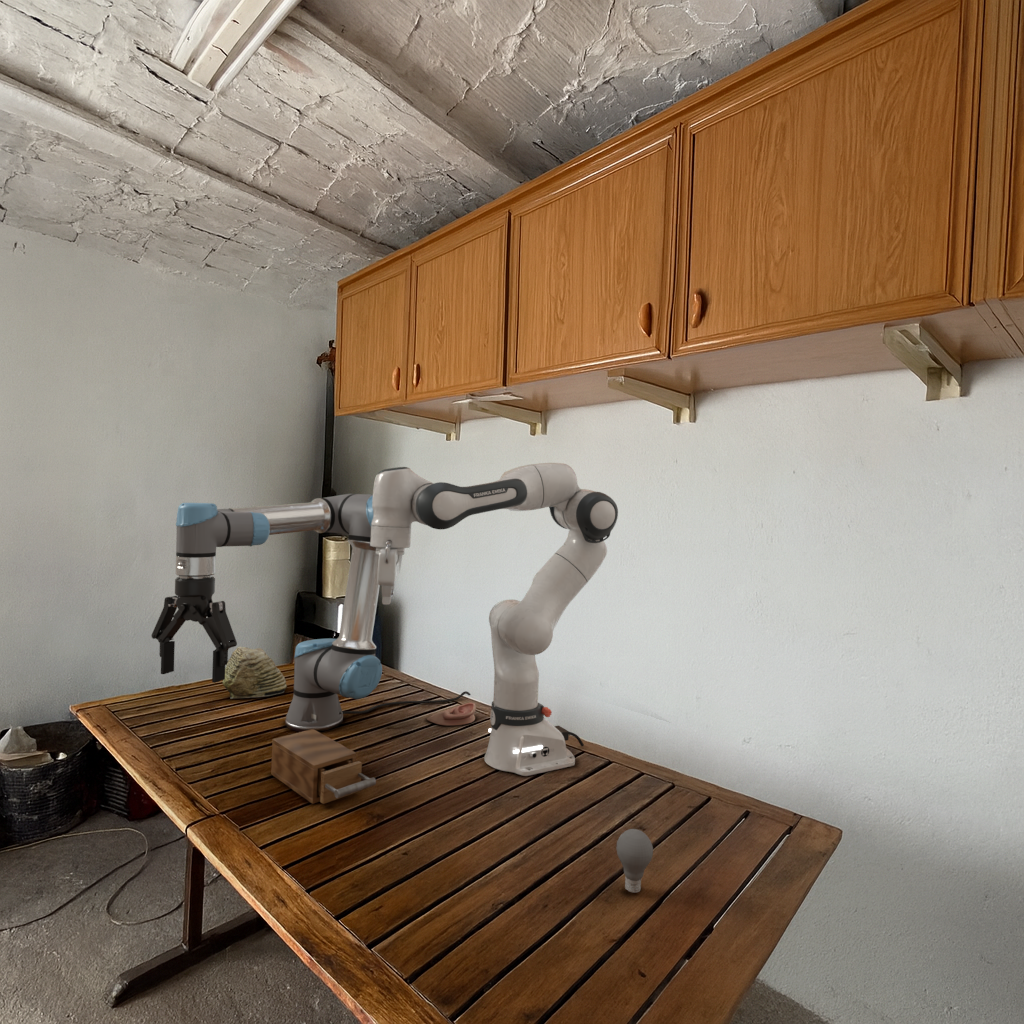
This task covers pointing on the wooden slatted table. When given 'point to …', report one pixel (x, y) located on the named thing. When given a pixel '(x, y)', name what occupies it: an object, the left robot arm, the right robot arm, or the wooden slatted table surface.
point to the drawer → (341, 780)
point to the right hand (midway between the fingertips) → (387, 600)
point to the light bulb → (634, 857)
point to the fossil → (252, 674)
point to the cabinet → (305, 760)
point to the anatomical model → (455, 715)
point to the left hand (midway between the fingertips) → (192, 676)
